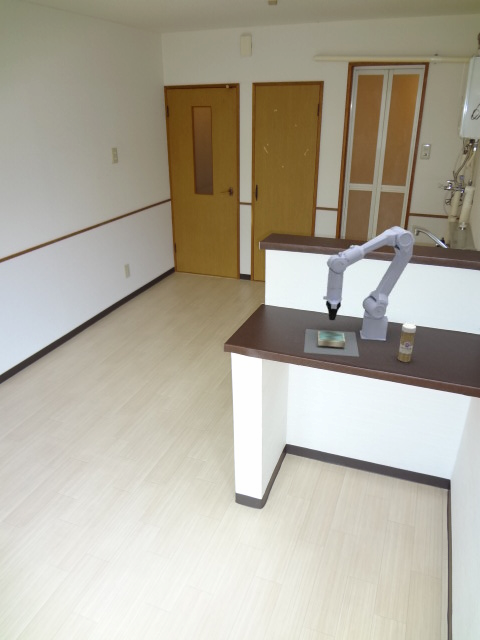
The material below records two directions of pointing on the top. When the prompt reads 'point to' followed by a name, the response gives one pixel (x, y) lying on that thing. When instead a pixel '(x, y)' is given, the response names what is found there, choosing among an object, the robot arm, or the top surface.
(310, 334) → the slate mat
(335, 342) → the teal framed tile
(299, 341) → the top surface
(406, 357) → the sprinkles bottle
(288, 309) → the top surface
